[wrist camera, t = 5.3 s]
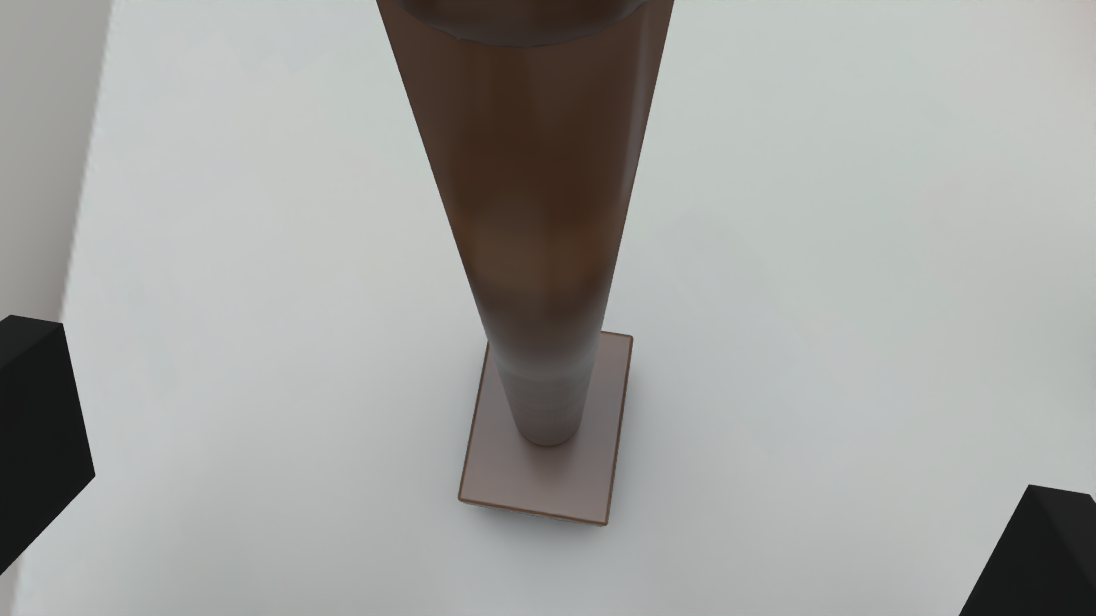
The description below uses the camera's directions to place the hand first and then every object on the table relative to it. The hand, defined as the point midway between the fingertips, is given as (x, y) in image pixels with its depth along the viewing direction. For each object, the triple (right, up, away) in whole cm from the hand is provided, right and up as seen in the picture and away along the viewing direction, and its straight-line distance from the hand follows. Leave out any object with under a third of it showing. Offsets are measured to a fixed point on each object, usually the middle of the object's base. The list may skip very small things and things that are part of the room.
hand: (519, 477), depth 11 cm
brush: (0, -1, +13) cm, 13 cm away
